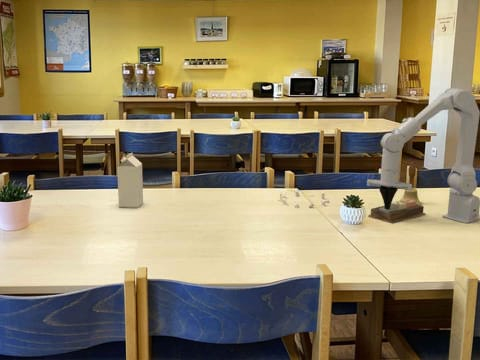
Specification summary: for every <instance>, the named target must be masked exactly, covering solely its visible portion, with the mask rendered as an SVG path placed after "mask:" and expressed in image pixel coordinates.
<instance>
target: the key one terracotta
mask: <svg viewBox="0 0 480 360" xmlns="http://www.w3.org/2000/svg"><path fill="white" fill-rule="evenodd" d="M399 201H400V202H402V203H406V208H410V207H414V206H416V201H413V200H409V199H404V200H401V199H400V200H399Z"/></svg>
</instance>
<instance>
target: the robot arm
mask: <svg viewBox="0 0 480 360" xmlns="http://www.w3.org/2000/svg"><path fill="white" fill-rule="evenodd" d="M447 110H454V111H455V112H456V114H458V115H459V116H460V118H461V119H460V125H459V126H460V128H459V135H458V141H457V149H456V157H455V164H454V165H453V166H452V167H451V172H450V173H449V175H448V177H447V184H448V186H449V188H450V189H449V196H448V197H449V198H448V204H447V205H448V207H447V214H442V215H441V217H442V218H445V219H448V220H449V219H450V220H453V221H457V222H461V223H464V224H470V223H472V222H475V221H479V220H480V217H479V215H480V197H479V196H477V195H475V194H473V193H474V192H475V191H476V190H477V187H478V181H477V180H476V171H475V169H474V166H473V165H474V159H475V158H474V157H475V150H476V143H477V136H478V130H479V129H478V128H479V120H480V109H479V107H478V104H477V101H476V95H474V93H472V92H471V91H470V90H468V89H466V88H456V87H449V88H447V89H446V90H445V91H444V92H441V93H440V94H438V96H436V97H435V99H434V100H432V101H431V103H429V104H428V105H427V106H426V107H425V108H424V109H423V110H421V111H420V112H419V113H417V115H415V117H407V118H403V119H402V120H401V121H402V122H401V123H399V125H398V126H396V127H395V128H392V129H391V130H390V131H391V132H387V133H385V134H384V135H383V136H382V137H381V140H380V146H381V148H382V155H381V165H380V166H381V167H380V179H367V180H366V187H367V186H368V187H377V188H379V189H378V190H379V193H380V195H381V197H382V200H383V206H385V209H390V206H391V202H393V199H394V197H395V195H396V193H397V191H398V190H404V191H405V190H408V191H411V189H412V184H409V182H401V181H399V178H400V177H399V174H400V162H401V151H402V149H403V148H404V145H405V143H407V142H408V141H409V140H411V139H412V138H413V137H414V136H415V135H417V134H418V133H419V132H420V131H421V129H422V125H424V124H425V123H427V122H428V121H429V120H430V119H432V118H433V117H435V116H436V115H437V114H439V113H440V112H441V111H447Z"/></svg>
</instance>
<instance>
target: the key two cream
mask: <svg viewBox="0 0 480 360" xmlns="http://www.w3.org/2000/svg"><path fill="white" fill-rule="evenodd" d="M390 208H394V209H396V211H397V210H402V209H406V203H402V202H399V200H398V201H397V200H396V201H392V202H391V206H390Z"/></svg>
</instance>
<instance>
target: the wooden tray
mask: <svg viewBox="0 0 480 360" xmlns="http://www.w3.org/2000/svg"><path fill="white" fill-rule="evenodd" d="M383 207H385V206H384V205H382V206H378V207H373V208H370V214H368V217H369V218H372V219H374V220H375V219H376V220H378V221H382V222H386V223H388V224H396V223H400V222H403V221H407V220H411V219H414V218H419V217H423V216H425V215H426V213H425V212H424V210H425V209H424V207H425V206H424V205H422V204H421V205H417V204H416V206H414V207H410V208H406V209H402V210H397V211H393V212H389V213H387V212H384V211H380V210H379V208H383Z"/></svg>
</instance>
